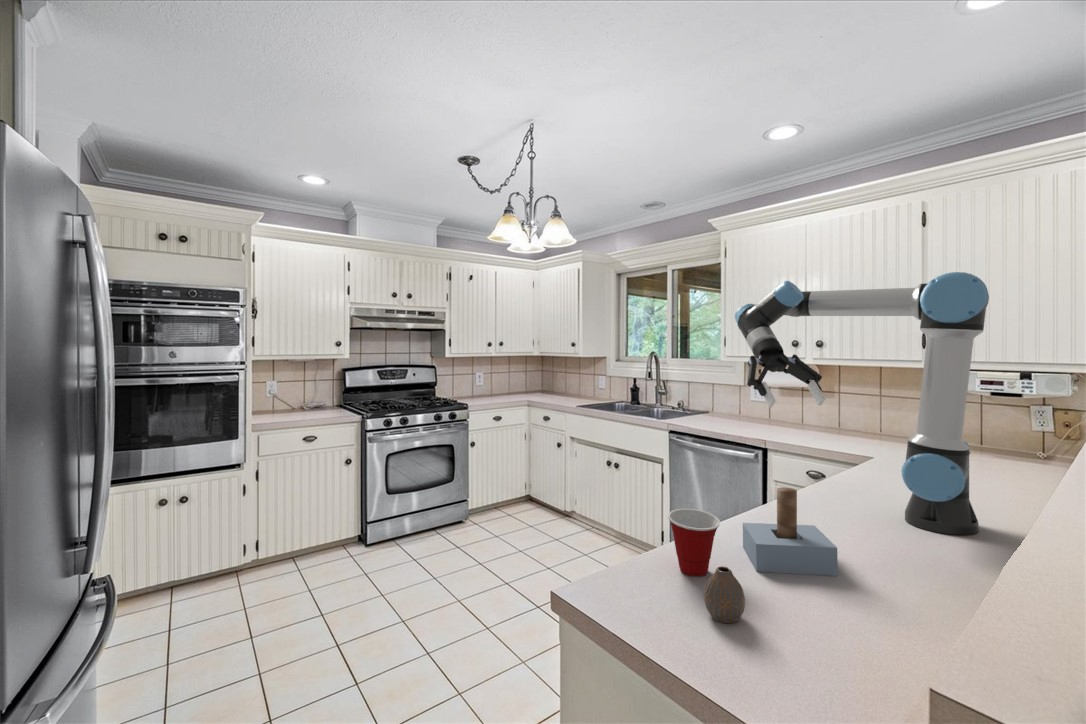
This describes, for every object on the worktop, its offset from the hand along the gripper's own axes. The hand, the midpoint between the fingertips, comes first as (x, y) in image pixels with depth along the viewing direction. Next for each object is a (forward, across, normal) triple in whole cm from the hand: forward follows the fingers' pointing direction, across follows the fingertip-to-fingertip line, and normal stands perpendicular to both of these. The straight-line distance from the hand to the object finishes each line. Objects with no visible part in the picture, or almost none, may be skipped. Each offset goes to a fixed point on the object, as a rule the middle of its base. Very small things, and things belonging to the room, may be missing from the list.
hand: (797, 403), depth 127 cm
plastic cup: (+37, +36, -11) cm, 53 cm away
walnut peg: (+34, +14, -12) cm, 39 cm away
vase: (+50, +38, +2) cm, 62 cm away
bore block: (+35, +14, -12) cm, 40 cm away
